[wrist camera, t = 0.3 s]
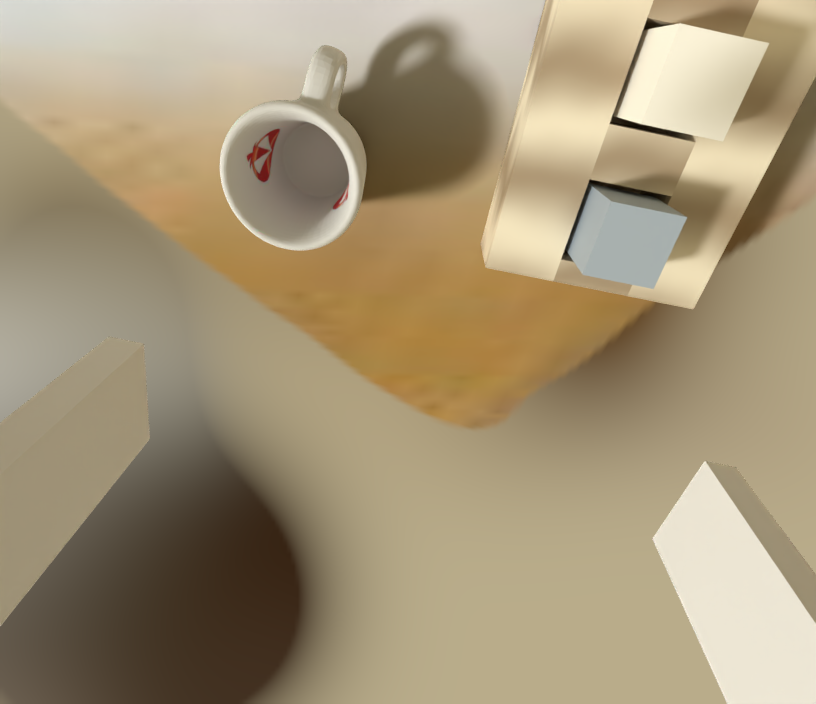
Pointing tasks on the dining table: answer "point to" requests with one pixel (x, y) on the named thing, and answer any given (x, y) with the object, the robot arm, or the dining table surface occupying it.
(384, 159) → the dining table surface
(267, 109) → the cup
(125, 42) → the dining table surface
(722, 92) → the key cream
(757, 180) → the console
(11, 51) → the dining table surface
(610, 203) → the key slate
